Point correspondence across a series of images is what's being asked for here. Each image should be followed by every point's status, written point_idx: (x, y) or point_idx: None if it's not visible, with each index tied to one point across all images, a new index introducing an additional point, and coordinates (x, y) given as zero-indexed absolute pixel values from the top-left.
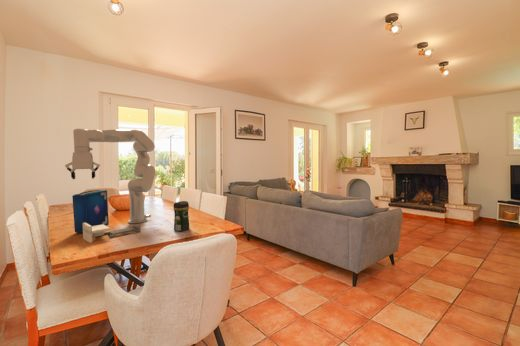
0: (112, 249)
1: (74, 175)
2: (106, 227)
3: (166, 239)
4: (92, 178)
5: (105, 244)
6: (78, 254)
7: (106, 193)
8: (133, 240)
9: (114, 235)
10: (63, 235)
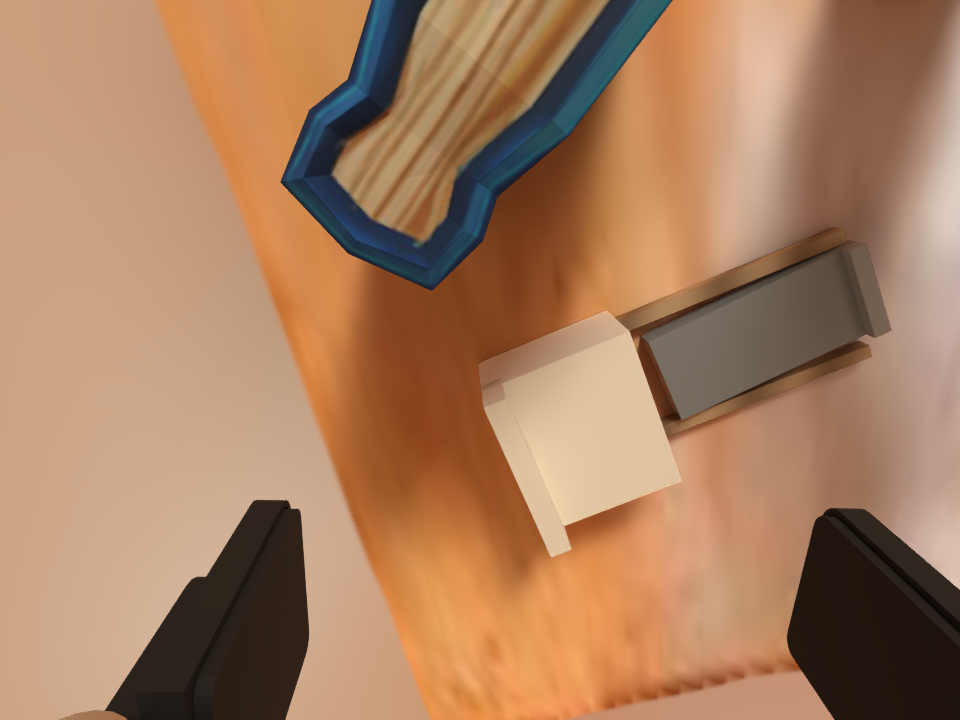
0: (664, 651)
1: (270, 671)
2: (657, 458)
3: None
4: (797, 640)
5: (628, 556)
6: (511, 664)
7: None
8: (781, 540)
9: (684, 428)
10: None
